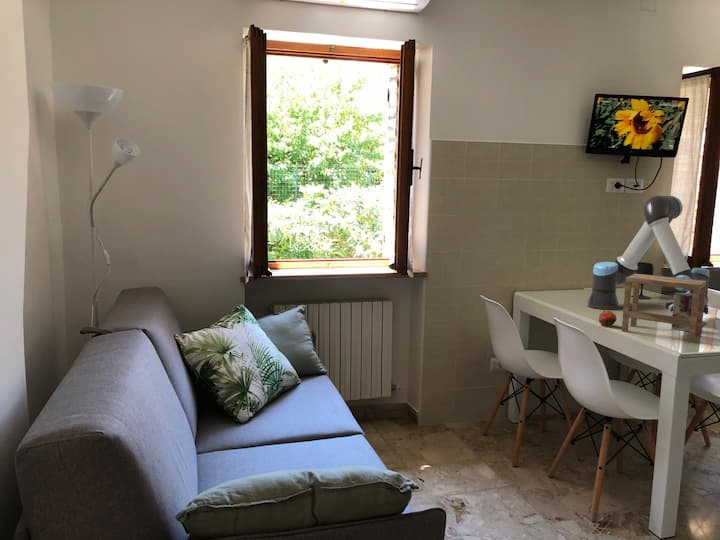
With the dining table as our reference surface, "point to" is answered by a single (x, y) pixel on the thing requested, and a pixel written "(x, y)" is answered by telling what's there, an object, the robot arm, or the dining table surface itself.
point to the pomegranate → (607, 318)
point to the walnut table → (693, 322)
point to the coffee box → (682, 309)
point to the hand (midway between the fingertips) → (682, 311)
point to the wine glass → (646, 270)
